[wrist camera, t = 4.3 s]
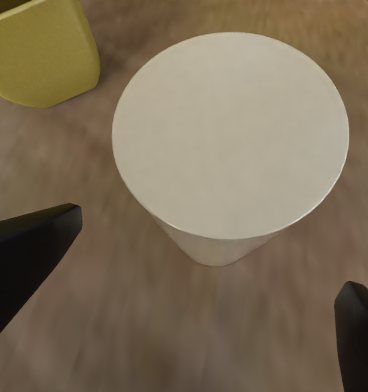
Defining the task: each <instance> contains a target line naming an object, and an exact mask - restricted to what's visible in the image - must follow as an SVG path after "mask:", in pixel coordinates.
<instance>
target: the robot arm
mask: <svg viewBox="0 0 368 392" xmlns="http://www.w3.org/2000/svg"><path fill="white" fill-rule="evenodd" d="M81 229H82V211H81V207H80V206H79V205H75V204H72V203H67V204H63V205H59V206H56V207H52V208H48V209H44V210H40V211H37V212H33V213H29V214H25V215H22V216H18V217H14V218H10V219H6V220H3V221H0V333H1V332H2V330H3V329H4V328H5V327H6V326H7V325H8V323H9V322H10V321H11V320H12V319H13V317H14V316H15V315H16V314H17V313H18V311H19V310H20V309H21V308H22V307H23V305H24V304H25V303H26V302H27V301H28V299H29V298H30V297H31V296H32V295H33V294H34V292H35V291H36V290H37V289H38V288H39V286H40V285H41V284H42V283H43V282H44V280H45V279H46V278H47V277H48V276H49V274H50V273H51V272H52V271H53V270H54V268H55V267H56V266H57V265H58V263H59V262H60V261H61V259H62V258H63V256H64V255H65V253H66V252H67V250H68V249H69V247H70V246H71V244H72V243H73V241H74V240H75V238H76V237H77V235H78V234H79V233H80V231H81ZM334 309H335V324H336V339H337V352H338V359H339V365H340V371H341V376H342V382H343V387H344V392H368V289H367V288H366V287H365V286H364V285H362V284H359V283H356V282H352V281H347V282H346V283H345V284H344V286H343V288H342V289H341V291H340V293H339V294H338V296H337V297H336V300H335V304H334Z"/></svg>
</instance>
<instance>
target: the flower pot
mask: <svg viewBox="0 0 368 392" xmlns="http://www.w3.org/2000/svg"><path fill="white" fill-rule="evenodd" d="M99 76H100V58H99V53H98V49H97V46H96V43H95V40H94V37H93V34H92V32H91V29H90V26H89V23H88V21H87V18H86V15H85V13H84V10H83V7H82V4H81V2H80V0H0V96H1V97H3V98H5V99H7V100H10V101H12V102H15V103H18V104H21V105H25V106H30V107H37V108H49V107H52V106H54V105H56V104H59V103H61V102H63V101H65V100H67V99H70V98H72V97H74V96H76V95H79V94H81V93H83V92H86V91H88V90H91V89H93V88H94V87H95V86H96V85H97V83H98V80H99Z"/></svg>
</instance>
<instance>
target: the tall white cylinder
mask: <svg viewBox="0 0 368 392" xmlns="http://www.w3.org/2000/svg"><path fill="white" fill-rule="evenodd" d="M348 146H349V125H348V117H347V113H346V110H345V106H344V103H343V101H342V99H341V96H340V94H339V92H338V90H337V88H336V87H335V85H334V84H333V82H332V80H331V79H330V78H329V77H328V75H327V74H326V73H325V72H324V71H323V69H322V68H320V67H319V66H318V65H317V64H316V63H315V62H314V61H313V60H312V59H310V58H309V57H308V56H306V55H305V54H304V53H302V52H301V51H299V50H297V49H295V48H294V47H292V46H290V45H288V44H285V43H283V42H281V41H278V40H276V39H273V38H269V37H266V36H262V35H257V34H252V33H242V32H220V33H211V34H206V35H201V36H196V37H193V38H190V39H187V40H184V41H182V42H179V43H177V44H175V45H173V46H170V47H169V48H167V49H165V50H164V51H162V52H160V53H159V54H157V55H156V56H155V57H153V58H152V59H150V60H149V61H148V62H147V63H146V64H145V65H144V66H143V67H142V68H140V69H139V71H138V72H137V73H136V74H135V75H134V77H133V78H132V79H131V80H130V82H129V83H128V85H127V86H126V88H125V89H124V91H123V93H122V95H121V98H120V100H119V102H118V105H117V108H116V111H115V114H114V120H113V125H112V147H113V154H114V158H115V162H116V166H117V168H118V171H119V173H120V175H121V178H122V180H123V181H124V183H125V185H126V186H127V188H128V190H129V191H130V192H131V194H132V195H133V196H134V197H135V199H136V200H137V201H138V202H139V203H140V204H141V205H142V207H143V208H144V209H145V210H146V211H147V212H148V213H149V214H150V215H151V216H152V217H153V219H154V220H155V221H156V222H157V223H158V224H159V225H160V226H161V227H162V228H163V229H164V231H165V232H166V233H167V234H168V235H169V236H170V237H171V238H172V239H173V240H174V242H175V243H176V244H177V245H178V246H179V247H180V248H181V249H182V250H183V251H184V252H185V253H186V254H187V255H188V256H189V257H190V258H192V259H193V260H195V261H196V262H198V263H201V264H204V265H208V266H225V265H229V264H232V263H234V262H236V261H238V260H240V259H241V258H243V257H244V256H246V255H247V254H249V253H250V252H252V251H253V250H255V249H256V248H258V247H259V246H261V245H262V244H264V243H265V242H267V241H268V240H270V239H271V238H273V237H274V236H276V235H277V234H279V233H280V232H282V231H283V230H285V229H286V228H288V227H289V226H291V225H292V224H294V223H295V222H297V221H298V220H300V219H301V218H303V217H304V216H306V215H307V214H309V213H310V212H311V211H312V210H313V209H314V208H316V207H317V206H318V205H319V204H320V203H321V202H322V201H323V200H324V199H325V197H326V196H327V195H328V194H329V192H330V191H331V190H332V188H333V187H334V185H335V183H336V182H337V180H338V178H339V176H340V174H341V172H342V169H343V166H344V164H345V161H346V156H347V152H348Z"/></svg>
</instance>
